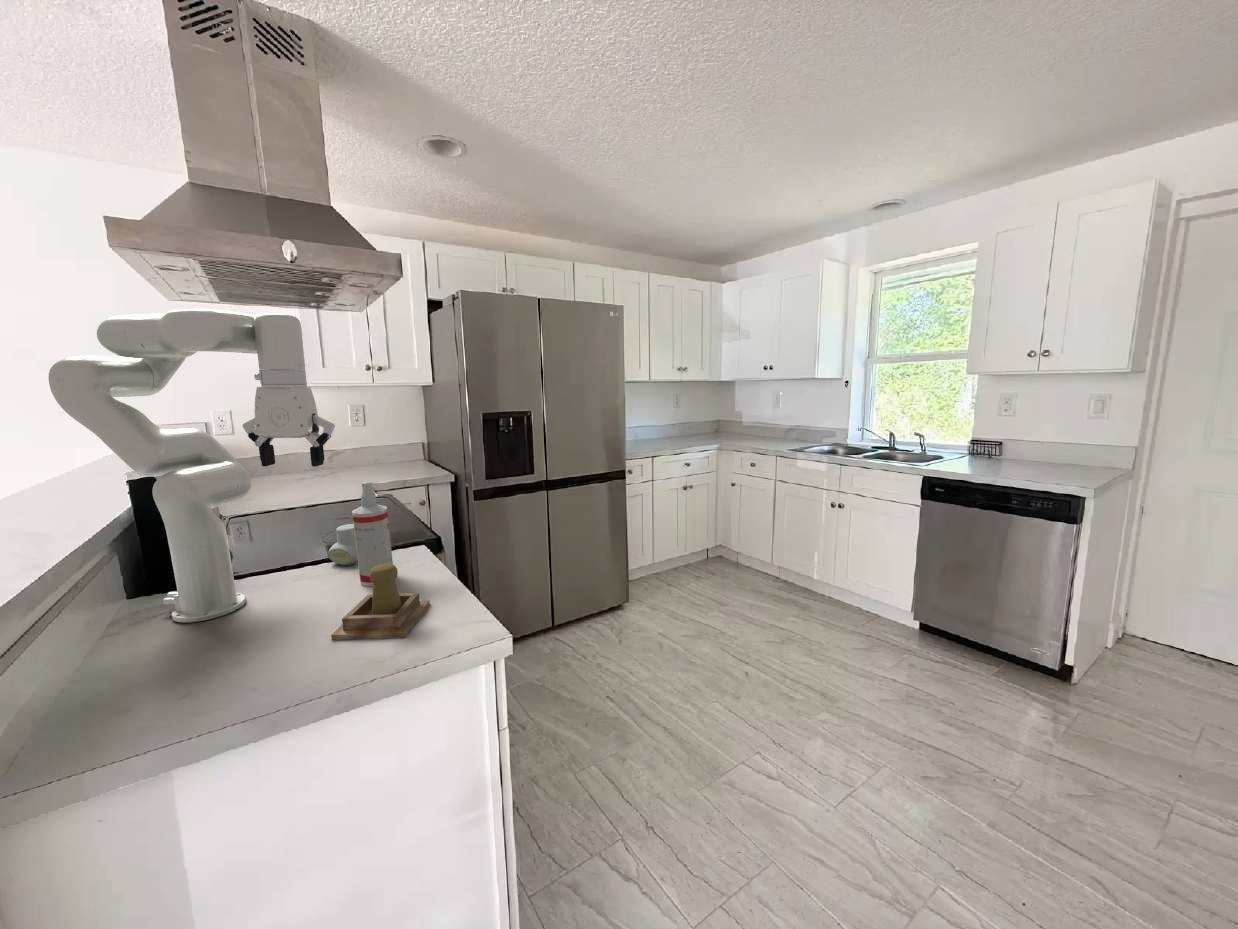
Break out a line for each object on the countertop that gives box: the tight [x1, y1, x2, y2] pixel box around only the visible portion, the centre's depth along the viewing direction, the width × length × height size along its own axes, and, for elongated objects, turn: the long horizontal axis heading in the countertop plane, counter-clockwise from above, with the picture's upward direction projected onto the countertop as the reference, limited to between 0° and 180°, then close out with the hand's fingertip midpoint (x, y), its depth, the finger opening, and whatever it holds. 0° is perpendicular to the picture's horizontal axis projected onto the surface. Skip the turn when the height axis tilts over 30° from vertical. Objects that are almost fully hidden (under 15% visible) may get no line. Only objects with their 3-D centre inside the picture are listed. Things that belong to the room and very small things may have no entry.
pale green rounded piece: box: [327, 523, 358, 566], centre depth 136 cm, size 11×8×10 cm
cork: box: [369, 563, 402, 615], centre depth 101 cm, size 6×6×11 cm
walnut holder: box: [330, 592, 431, 641], centre depth 102 cm, size 14×14×4 cm
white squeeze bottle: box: [351, 481, 394, 587], centre depth 121 cm, size 8×8×25 cm
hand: (293, 465), depth 100 cm, fingers open, 9 cm apart
